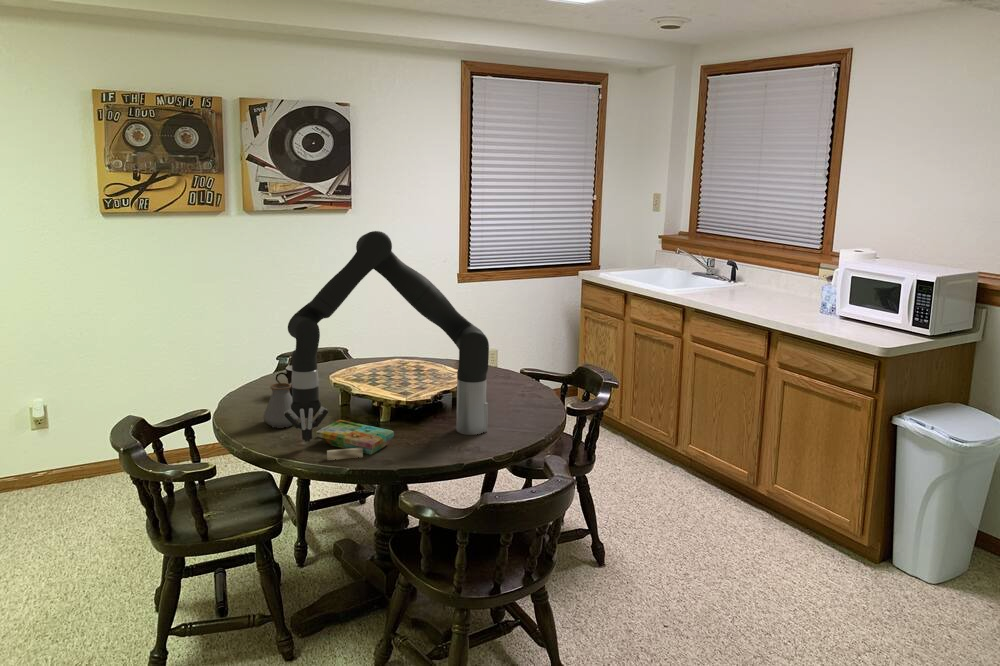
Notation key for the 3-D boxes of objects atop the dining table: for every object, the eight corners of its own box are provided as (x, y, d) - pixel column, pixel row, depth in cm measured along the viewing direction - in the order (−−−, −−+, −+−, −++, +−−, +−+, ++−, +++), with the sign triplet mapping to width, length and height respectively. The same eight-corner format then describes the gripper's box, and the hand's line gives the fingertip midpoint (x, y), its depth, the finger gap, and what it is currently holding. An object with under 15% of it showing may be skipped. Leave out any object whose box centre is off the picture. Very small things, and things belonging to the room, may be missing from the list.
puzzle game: (371, 442, 221) (315, 429, 229) (371, 457, 222) (315, 443, 230) (394, 428, 231) (339, 416, 239) (394, 443, 232) (339, 431, 240)
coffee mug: (313, 391, 282) (312, 364, 280) (308, 398, 274) (307, 371, 272) (281, 390, 282) (280, 364, 279) (275, 397, 273) (274, 370, 271)
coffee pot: (290, 431, 240) (288, 385, 237) (256, 428, 243) (254, 382, 239) (319, 410, 261) (318, 368, 257) (288, 407, 263) (286, 365, 260)
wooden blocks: (354, 433, 241) (354, 425, 240) (362, 457, 222) (362, 448, 221) (321, 435, 238) (321, 427, 237) (327, 460, 219) (327, 452, 218)
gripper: (327, 379, 228) (328, 434, 232) (281, 381, 224) (283, 438, 228) (329, 386, 221) (331, 443, 225) (281, 389, 217) (284, 447, 221)
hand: (307, 440), depth 226 cm, fingers closed
